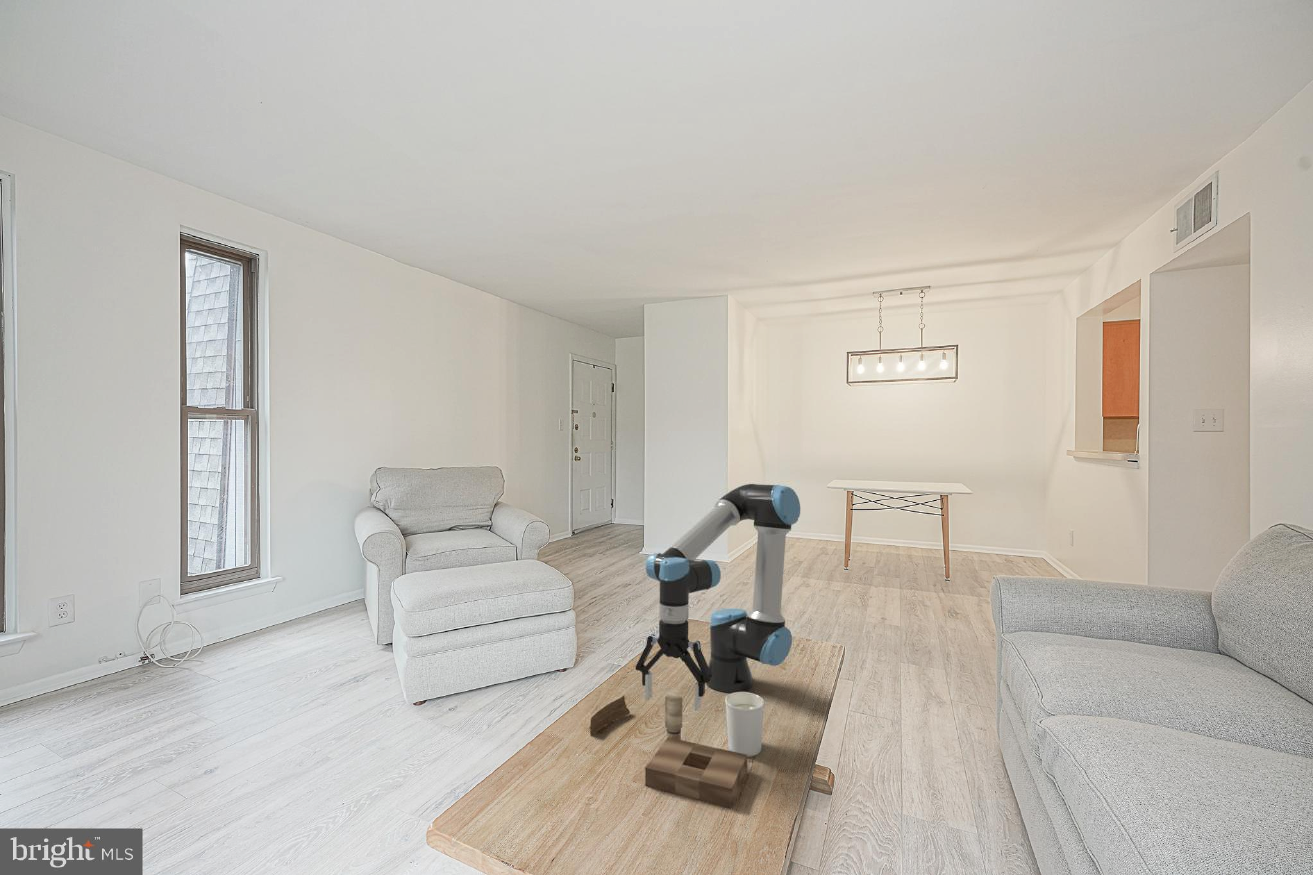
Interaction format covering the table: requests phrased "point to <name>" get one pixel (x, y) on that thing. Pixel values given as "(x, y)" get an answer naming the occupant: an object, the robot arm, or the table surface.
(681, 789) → the wooden block with hole
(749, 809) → the table surface
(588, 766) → the table surface
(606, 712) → the wood plank
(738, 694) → the candle holder
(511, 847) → the table surface
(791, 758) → the table surface
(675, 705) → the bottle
